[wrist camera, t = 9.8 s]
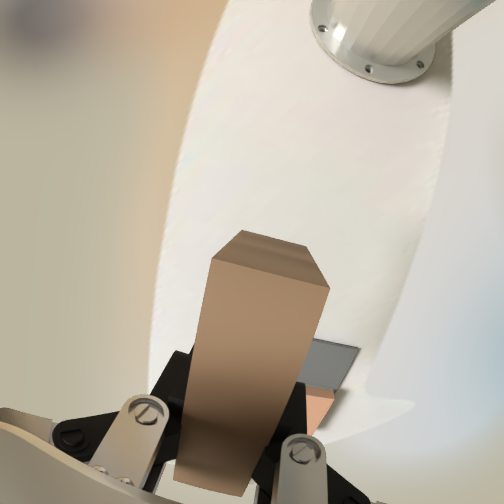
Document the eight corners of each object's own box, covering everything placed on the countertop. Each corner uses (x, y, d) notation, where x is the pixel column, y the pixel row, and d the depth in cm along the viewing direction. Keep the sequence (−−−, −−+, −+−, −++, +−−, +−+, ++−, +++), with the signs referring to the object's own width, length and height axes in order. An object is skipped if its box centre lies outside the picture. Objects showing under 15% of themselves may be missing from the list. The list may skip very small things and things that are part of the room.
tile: (274, 388, 29) (256, 430, 31) (334, 399, 28) (309, 439, 31) (275, 378, 30) (257, 420, 33) (332, 388, 30) (309, 429, 33)
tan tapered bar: (207, 221, 11) (152, 241, 6) (339, 255, 10) (386, 301, 6) (169, 450, 13) (141, 514, 8) (254, 471, 13) (245, 541, 8)
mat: (286, 332, 29) (286, 334, 29) (357, 347, 29) (358, 350, 28) (251, 422, 34) (250, 425, 33) (308, 433, 33) (308, 435, 33)
